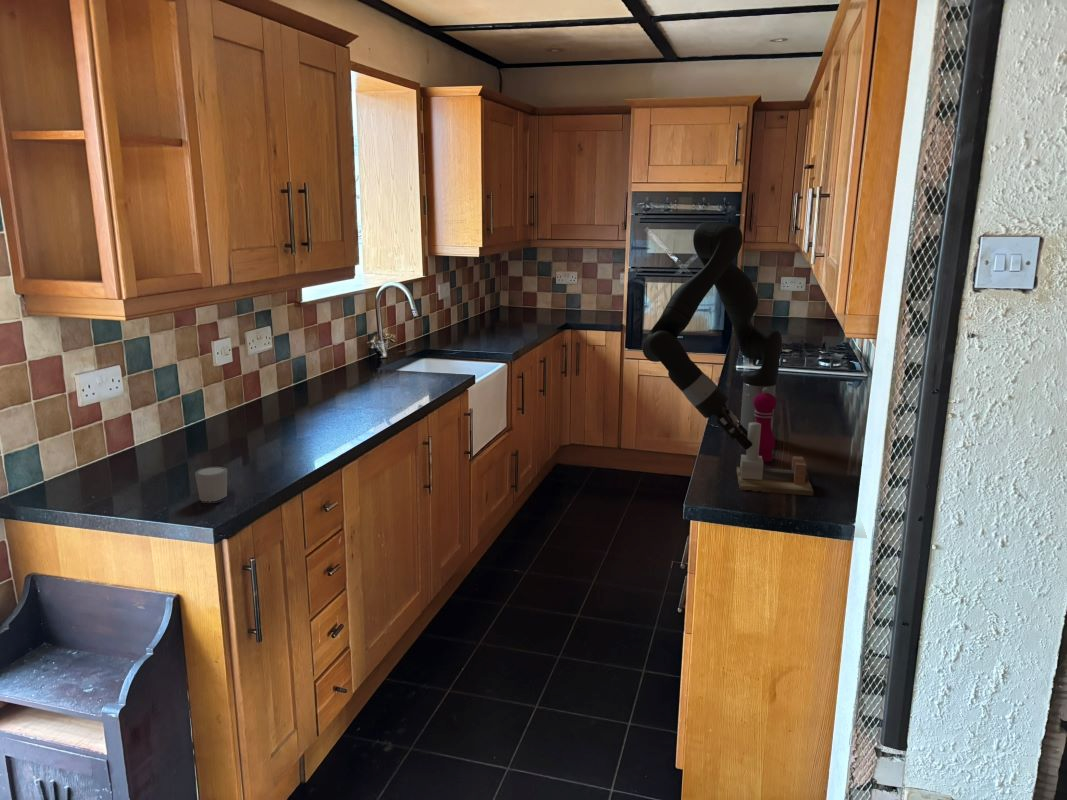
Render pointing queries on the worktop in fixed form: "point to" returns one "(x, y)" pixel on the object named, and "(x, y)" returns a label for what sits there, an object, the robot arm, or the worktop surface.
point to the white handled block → (752, 455)
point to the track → (780, 480)
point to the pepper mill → (765, 423)
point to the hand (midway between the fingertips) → (748, 442)
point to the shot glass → (211, 483)
